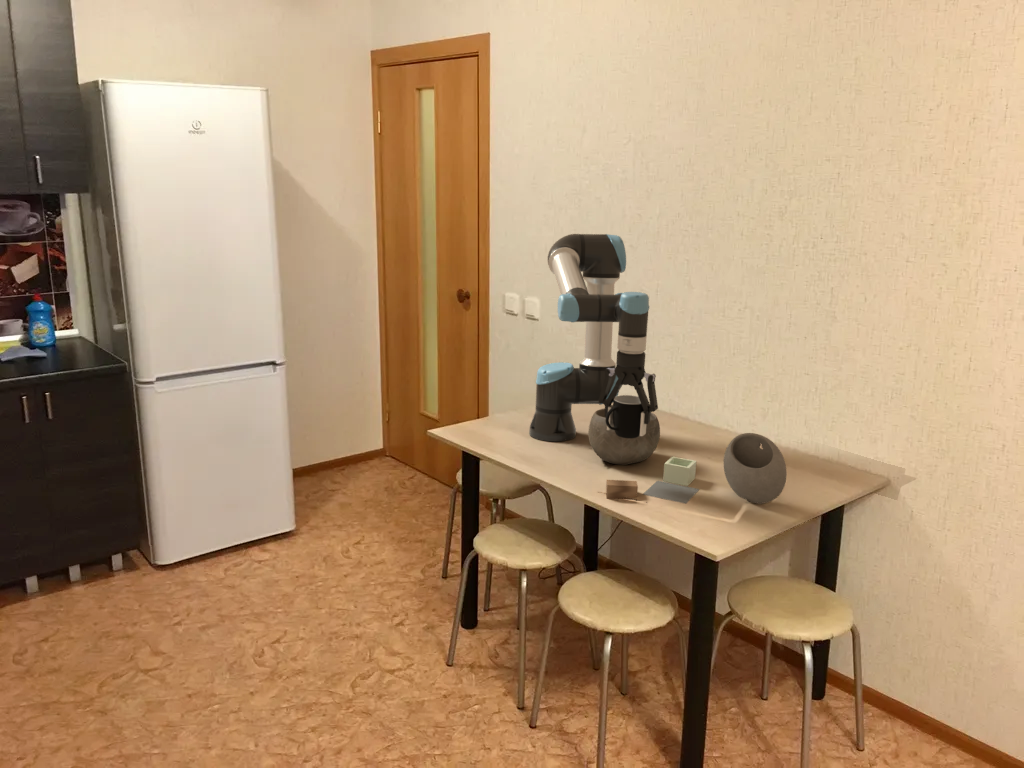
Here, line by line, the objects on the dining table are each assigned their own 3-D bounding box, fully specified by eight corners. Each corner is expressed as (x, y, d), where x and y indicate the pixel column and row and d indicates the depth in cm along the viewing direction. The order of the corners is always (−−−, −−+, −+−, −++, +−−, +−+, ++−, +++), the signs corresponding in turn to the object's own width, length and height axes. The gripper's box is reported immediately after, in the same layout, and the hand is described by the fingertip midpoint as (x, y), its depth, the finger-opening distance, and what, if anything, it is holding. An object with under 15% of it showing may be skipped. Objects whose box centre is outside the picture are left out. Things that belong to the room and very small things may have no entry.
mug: (630, 428, 239) (633, 393, 236) (650, 437, 231) (653, 401, 229) (595, 433, 233) (597, 398, 231) (614, 443, 226) (617, 406, 223)
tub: (662, 483, 236) (664, 463, 235) (670, 476, 242) (672, 456, 241) (687, 488, 233) (688, 468, 232) (694, 481, 239) (696, 460, 238)
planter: (713, 494, 230) (719, 428, 225) (728, 488, 234) (735, 423, 230) (774, 515, 216) (781, 446, 212) (789, 509, 221) (797, 440, 216)
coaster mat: (642, 497, 226) (642, 494, 226) (657, 483, 237) (657, 480, 236) (685, 506, 221) (686, 503, 221) (699, 491, 231) (699, 489, 231)
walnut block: (606, 499, 225) (607, 485, 224) (605, 493, 229) (606, 479, 228) (636, 500, 224) (637, 486, 223) (635, 495, 228) (636, 481, 227)
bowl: (616, 445, 268) (619, 399, 264) (671, 462, 254) (675, 414, 250) (573, 460, 254) (575, 411, 250) (628, 478, 240) (631, 428, 236)
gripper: (588, 348, 227) (584, 428, 233) (665, 358, 218) (659, 442, 223) (599, 343, 234) (595, 421, 240) (674, 353, 224) (668, 435, 230)
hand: (626, 431), depth 231 cm, fingers closed on mug, 9 cm apart
